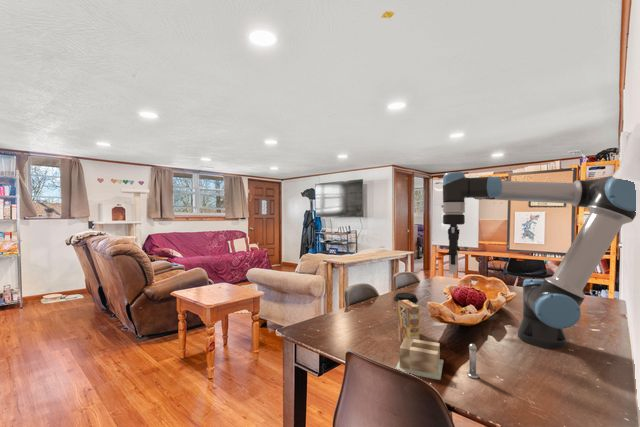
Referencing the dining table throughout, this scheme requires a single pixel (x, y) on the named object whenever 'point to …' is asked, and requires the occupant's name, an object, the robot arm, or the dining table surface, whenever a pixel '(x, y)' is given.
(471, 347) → the stand
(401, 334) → the candy box
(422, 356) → the c link
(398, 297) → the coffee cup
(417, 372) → the felt mat
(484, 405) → the dining table surface
